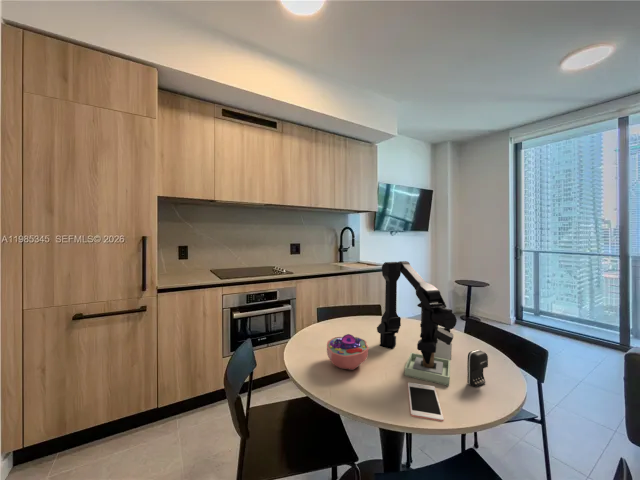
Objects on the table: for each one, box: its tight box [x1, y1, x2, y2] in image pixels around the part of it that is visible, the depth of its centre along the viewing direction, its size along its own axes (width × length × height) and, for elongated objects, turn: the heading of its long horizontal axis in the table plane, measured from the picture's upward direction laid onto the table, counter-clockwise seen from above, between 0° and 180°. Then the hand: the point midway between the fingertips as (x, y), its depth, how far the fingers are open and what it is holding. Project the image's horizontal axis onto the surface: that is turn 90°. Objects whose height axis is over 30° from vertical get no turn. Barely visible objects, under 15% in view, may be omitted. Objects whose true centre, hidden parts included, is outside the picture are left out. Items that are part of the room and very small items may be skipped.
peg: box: [423, 353, 434, 369], centre depth 106 cm, size 4×4×8 cm
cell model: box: [326, 333, 370, 370], centre depth 111 cm, size 17×20×11 cm
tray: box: [404, 352, 451, 387], centre depth 106 cm, size 15×15×3 cm
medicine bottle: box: [434, 326, 453, 361], centre depth 120 cm, size 7×7×12 cm
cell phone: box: [407, 382, 445, 422], centre depth 88 cm, size 9×18×1 cm, turn 165°
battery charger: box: [466, 349, 489, 387], centre depth 97 cm, size 7×4×11 cm, turn 117°
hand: (428, 361), depth 106 cm, fingers closed on peg, 4 cm apart
